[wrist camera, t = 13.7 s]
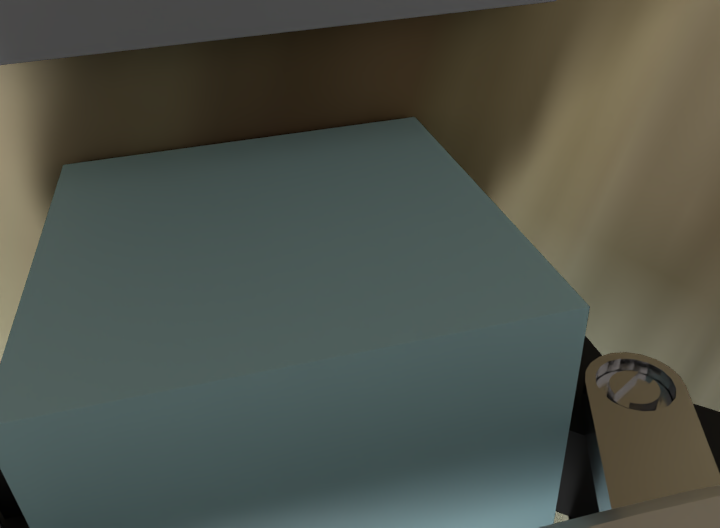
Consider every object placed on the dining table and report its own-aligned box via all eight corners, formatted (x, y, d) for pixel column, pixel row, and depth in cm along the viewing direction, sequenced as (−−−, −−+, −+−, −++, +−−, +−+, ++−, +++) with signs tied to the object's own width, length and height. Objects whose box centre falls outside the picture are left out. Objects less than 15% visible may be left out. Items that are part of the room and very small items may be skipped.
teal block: (416, 370, 15) (536, 622, 10) (145, 426, 14) (134, 737, 9) (414, 116, 12) (590, 306, 7) (63, 164, 11) (-20, 427, 6)
